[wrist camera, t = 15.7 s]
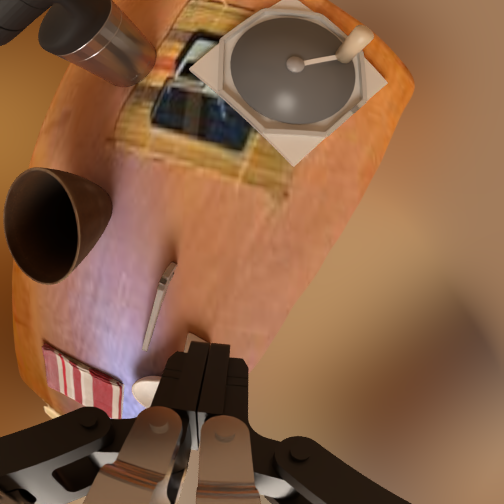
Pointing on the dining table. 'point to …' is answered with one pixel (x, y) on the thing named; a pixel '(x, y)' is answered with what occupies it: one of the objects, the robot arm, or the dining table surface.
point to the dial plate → (276, 133)
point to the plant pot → (53, 222)
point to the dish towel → (83, 383)
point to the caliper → (158, 302)
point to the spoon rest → (154, 380)
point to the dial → (296, 69)
